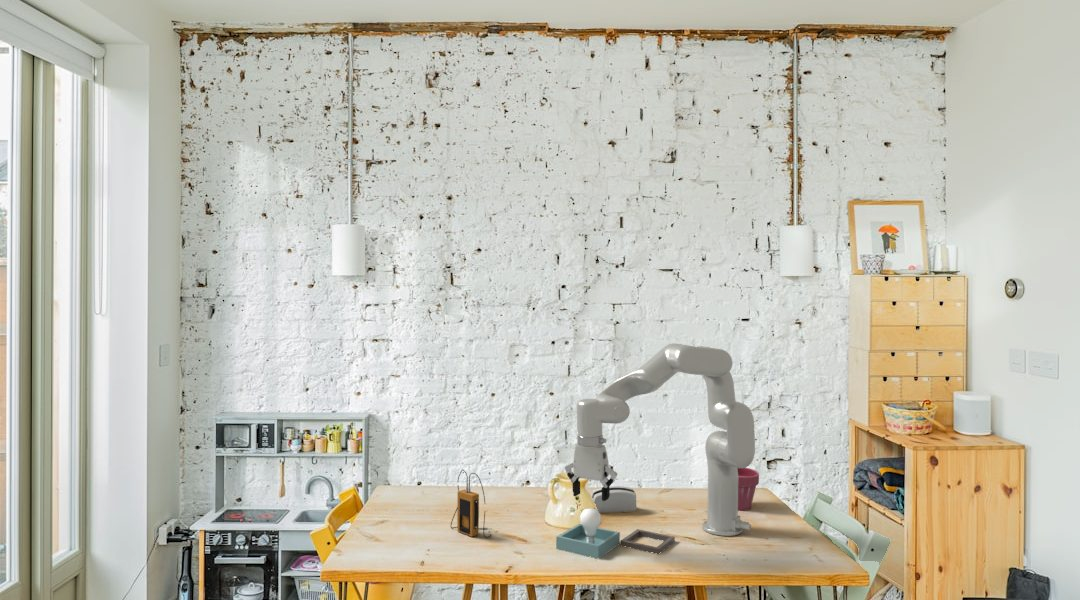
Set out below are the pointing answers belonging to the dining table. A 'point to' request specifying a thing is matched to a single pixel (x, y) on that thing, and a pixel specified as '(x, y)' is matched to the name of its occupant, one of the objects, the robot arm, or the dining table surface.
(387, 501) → the dining table surface
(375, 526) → the dining table surface
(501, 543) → the dining table surface
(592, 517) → the lightbulb
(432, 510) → the dining table surface
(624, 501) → the grey rounded block
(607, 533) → the parts tray
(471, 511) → the multimeter
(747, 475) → the plant pot
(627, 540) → the dark brown square frame
